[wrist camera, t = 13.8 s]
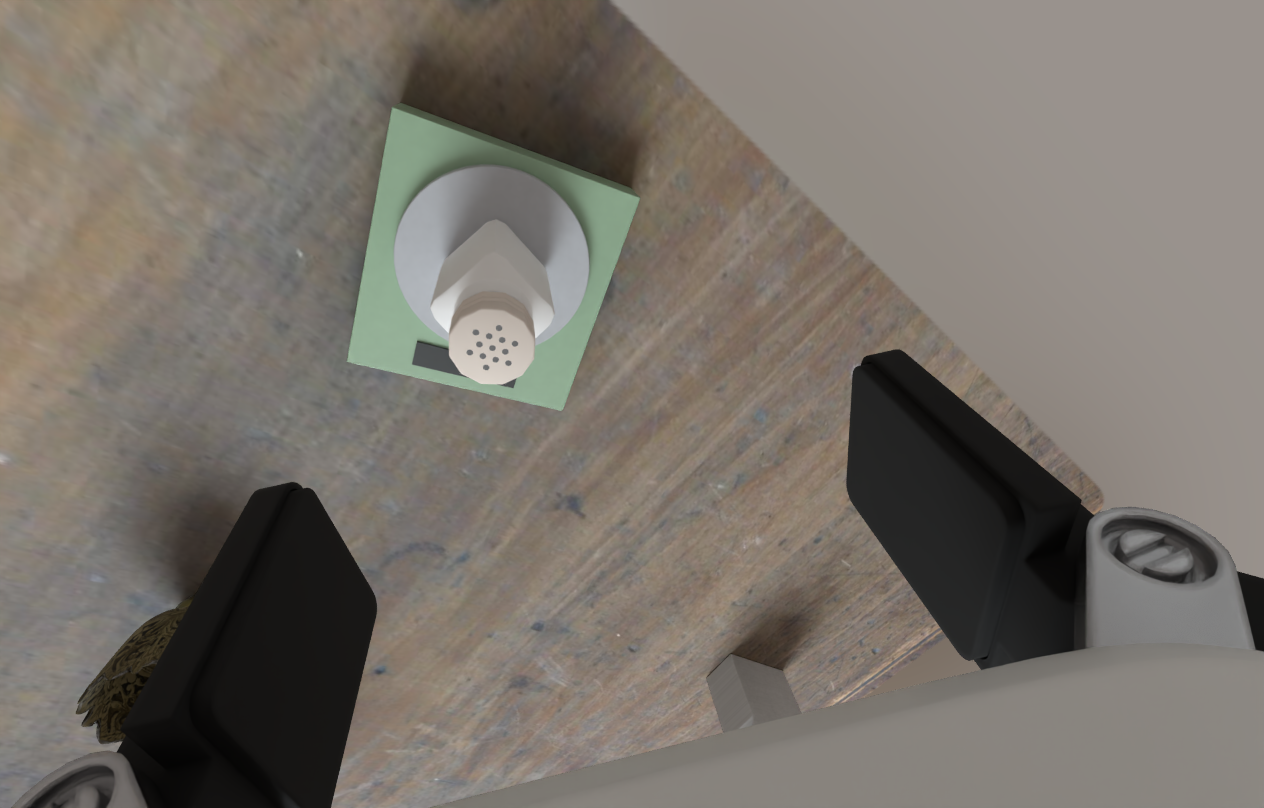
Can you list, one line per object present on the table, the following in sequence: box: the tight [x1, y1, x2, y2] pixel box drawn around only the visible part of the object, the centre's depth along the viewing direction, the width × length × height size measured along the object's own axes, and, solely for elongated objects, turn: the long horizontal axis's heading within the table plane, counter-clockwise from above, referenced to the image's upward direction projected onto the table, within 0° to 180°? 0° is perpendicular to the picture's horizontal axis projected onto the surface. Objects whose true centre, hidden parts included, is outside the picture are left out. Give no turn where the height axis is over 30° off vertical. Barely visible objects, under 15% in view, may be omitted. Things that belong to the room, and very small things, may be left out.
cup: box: [76, 595, 195, 744], centre depth 38 cm, size 8×7×8 cm
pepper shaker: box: [430, 219, 555, 384], centre depth 26 cm, size 4×4×10 cm
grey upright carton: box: [706, 654, 801, 733], centre depth 53 cm, size 4×7×10 cm, turn 55°
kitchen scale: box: [347, 103, 640, 411], centre depth 32 cm, size 13×12×3 cm
